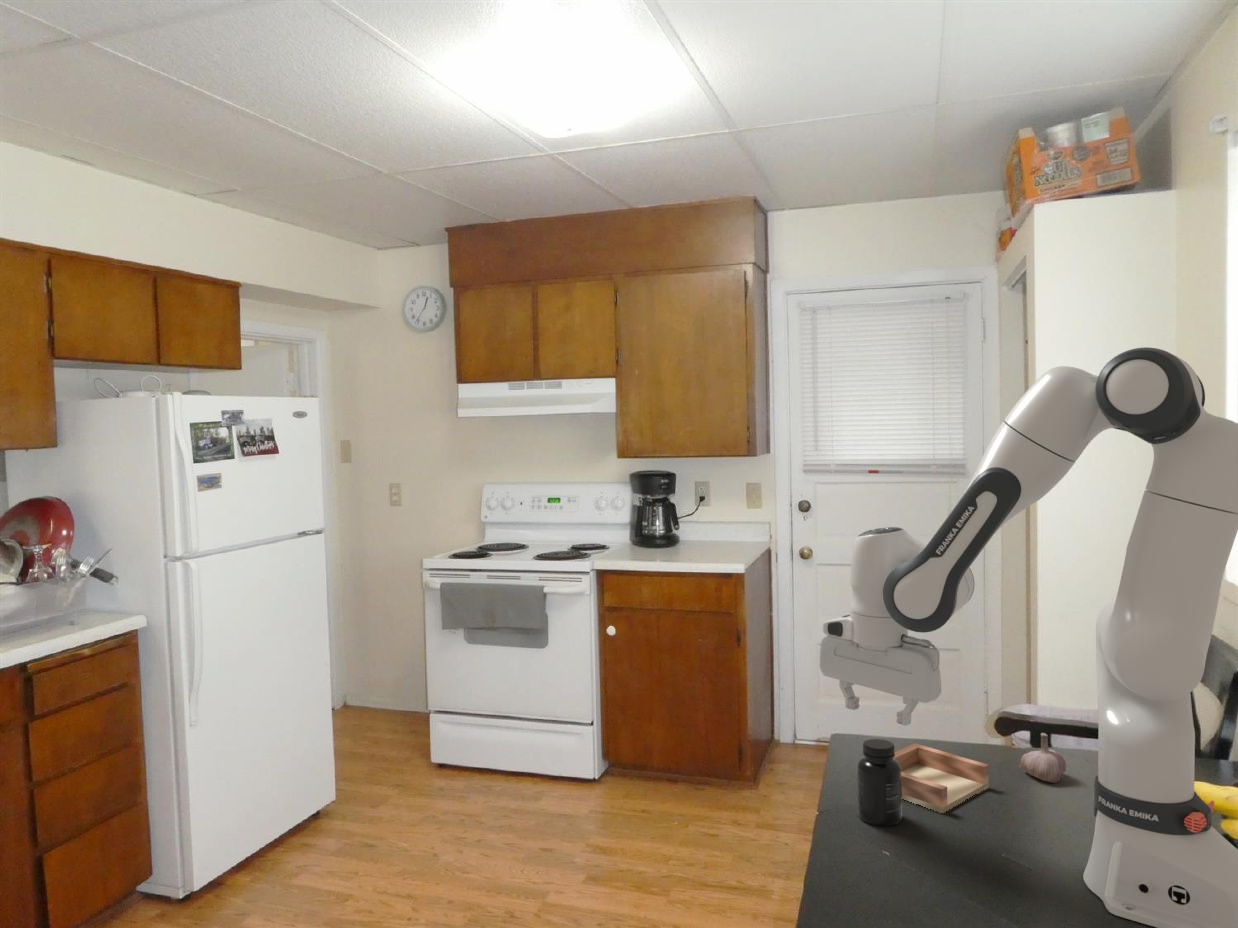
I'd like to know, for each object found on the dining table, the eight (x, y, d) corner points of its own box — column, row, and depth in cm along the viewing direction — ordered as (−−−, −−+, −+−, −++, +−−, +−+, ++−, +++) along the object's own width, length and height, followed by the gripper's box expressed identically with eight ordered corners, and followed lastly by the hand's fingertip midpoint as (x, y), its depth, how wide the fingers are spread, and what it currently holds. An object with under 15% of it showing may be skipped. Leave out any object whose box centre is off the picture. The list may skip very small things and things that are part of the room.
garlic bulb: (1063, 789, 152) (1063, 743, 152) (1016, 780, 156) (1017, 735, 156) (1068, 773, 159) (1068, 729, 158) (1023, 766, 163) (1023, 722, 162)
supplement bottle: (897, 809, 146) (896, 736, 145) (906, 828, 139) (906, 752, 138) (853, 808, 146) (853, 735, 146) (861, 827, 139) (860, 751, 139)
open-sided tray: (988, 787, 153) (988, 764, 153) (942, 814, 143) (942, 789, 143) (915, 764, 164) (914, 743, 164) (867, 787, 154) (867, 764, 154)
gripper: (950, 638, 135) (948, 728, 136) (837, 615, 151) (836, 696, 151) (927, 646, 131) (926, 738, 132) (814, 621, 147) (813, 704, 147)
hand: (877, 715), depth 142 cm, fingers open, 8 cm apart
